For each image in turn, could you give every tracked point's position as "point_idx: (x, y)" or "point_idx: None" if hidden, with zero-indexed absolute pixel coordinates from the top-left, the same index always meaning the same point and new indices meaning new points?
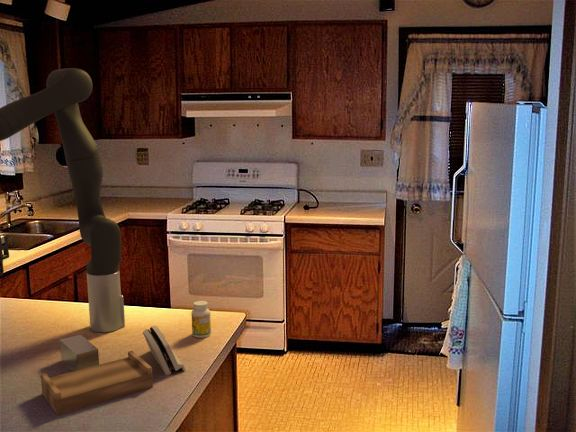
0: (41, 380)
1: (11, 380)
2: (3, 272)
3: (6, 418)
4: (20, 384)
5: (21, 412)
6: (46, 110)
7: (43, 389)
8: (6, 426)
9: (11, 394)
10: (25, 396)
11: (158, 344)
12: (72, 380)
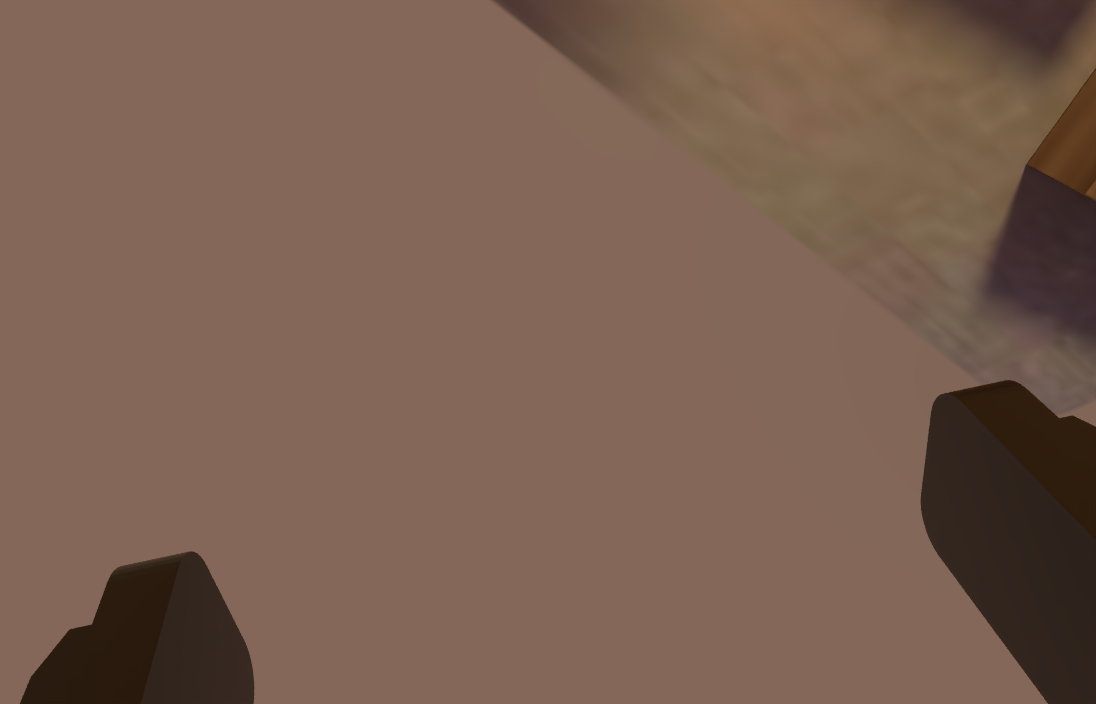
0: (1091, 197)
1: (745, 146)
2: (1091, 425)
3: None
4: (835, 152)
5: (1033, 329)
6: None
7: (1078, 191)
8: None
9: (870, 251)
10: (955, 227)
11: None
12: None
